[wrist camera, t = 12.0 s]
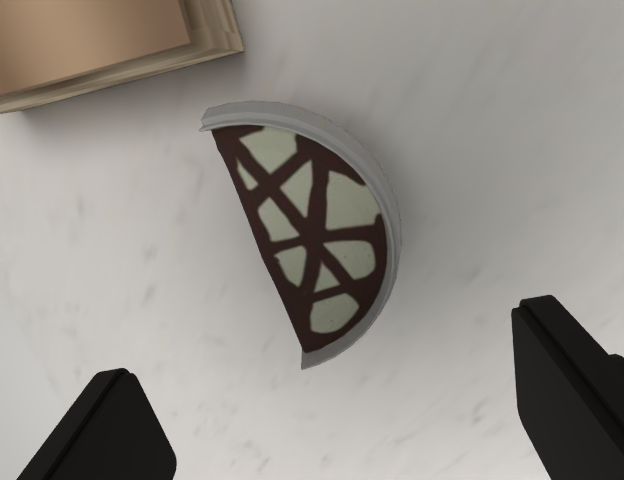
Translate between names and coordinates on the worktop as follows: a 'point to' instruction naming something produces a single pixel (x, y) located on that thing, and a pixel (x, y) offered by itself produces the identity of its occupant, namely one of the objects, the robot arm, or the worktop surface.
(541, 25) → the worktop surface
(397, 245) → the food container
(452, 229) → the worktop surface
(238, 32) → the crate
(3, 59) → the lid
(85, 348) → the worktop surface
